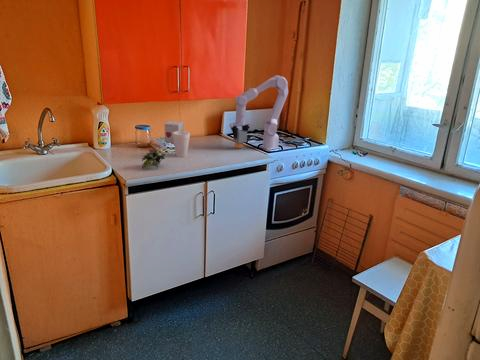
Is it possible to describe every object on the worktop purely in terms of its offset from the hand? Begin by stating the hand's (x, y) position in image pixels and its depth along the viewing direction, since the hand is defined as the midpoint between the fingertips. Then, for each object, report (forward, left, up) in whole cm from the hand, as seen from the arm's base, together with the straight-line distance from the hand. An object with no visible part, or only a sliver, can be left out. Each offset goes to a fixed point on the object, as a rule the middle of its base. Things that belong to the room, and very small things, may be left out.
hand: (239, 137), depth 232 cm
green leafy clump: (+60, +8, -7) cm, 61 cm away
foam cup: (+38, -4, -7) cm, 39 cm away
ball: (0, 0, -4) cm, 4 cm away
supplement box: (+33, -22, -7) cm, 40 cm away
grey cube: (0, +1, -2) cm, 2 cm away
